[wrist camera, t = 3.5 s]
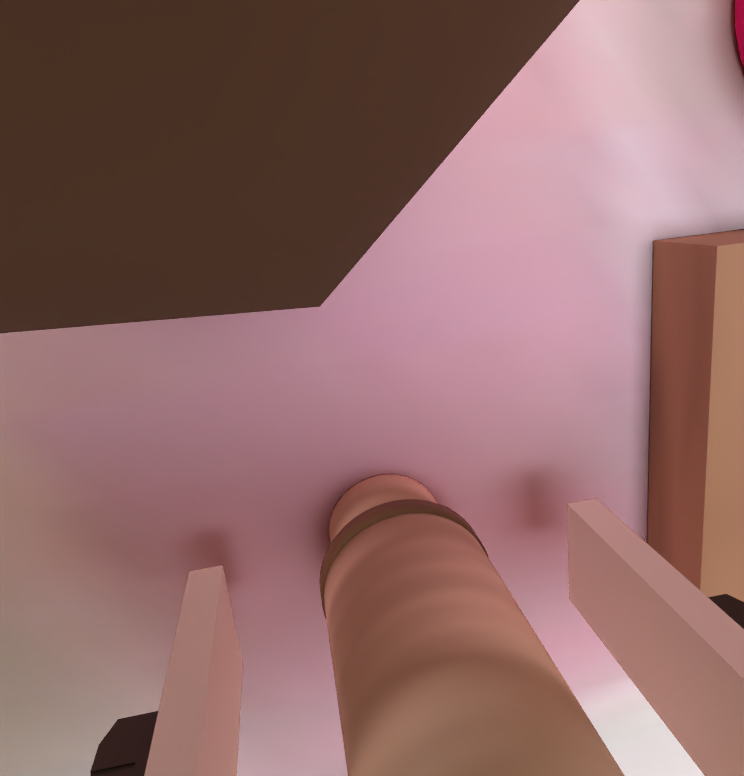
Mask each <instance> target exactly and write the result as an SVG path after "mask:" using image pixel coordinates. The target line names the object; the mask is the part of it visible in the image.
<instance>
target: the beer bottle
mask: <svg viewBox="0 0 744 776" xmlns="http://www.w3.org/2000/svg"><path fill="white" fill-rule="evenodd" d="M578 2H579V0H0V333H8V332H20V331H32V330H44V329H56V328H68V327H80V326H92V325H104V324H115V323H127V322H139V321H151V320H163V319H175V318H187V317H199V316H211V315H223V314H235V313H247V312H259V311H271V310H283V309H295V308H307V307H319V306H321V304H322V303H323V302H324V301H325V300H326V299H327V297H328V296H329V295H330V294H331V293H332V291H333V290H334V289H335V288H336V287H337V286H338V284H339V283H340V282H341V281H342V280H343V279H344V277H345V276H346V275H347V274H348V273H349V271H350V270H351V269H352V268H353V267H354V266H355V264H356V263H357V262H358V261H359V260H360V259H361V257H362V256H363V255H364V254H365V253H366V251H367V250H368V249H369V248H370V247H371V246H372V244H373V243H374V242H375V241H376V240H377V238H378V237H379V236H380V235H381V234H382V233H383V231H384V230H385V229H386V228H387V227H388V226H389V224H390V223H391V222H392V221H393V220H394V218H395V217H396V216H397V215H398V214H399V213H400V211H401V210H402V209H403V208H404V207H405V205H406V204H407V203H408V202H409V201H410V200H411V198H412V197H413V196H414V195H415V194H416V193H417V191H418V190H419V189H420V188H421V187H422V185H423V184H424V183H425V182H426V181H427V180H428V178H429V177H430V176H431V175H432V174H433V172H434V171H435V170H436V169H437V168H438V167H439V165H440V164H441V163H442V162H443V161H444V160H445V158H446V157H447V156H448V155H449V154H450V152H451V151H452V150H453V149H454V148H455V147H456V145H457V144H458V143H459V142H460V141H461V139H462V138H463V137H464V136H465V135H466V134H467V132H468V131H469V130H470V129H471V128H472V127H473V125H474V124H475V123H476V122H477V121H478V119H479V118H480V117H481V116H482V115H483V114H484V112H485V111H486V110H487V109H488V108H489V106H490V105H491V104H492V103H493V102H494V101H495V99H496V98H497V97H498V96H499V95H500V94H501V92H502V91H503V90H504V89H505V88H506V86H507V85H508V84H509V83H510V82H511V81H512V79H513V78H514V77H515V76H516V75H517V74H518V72H519V71H520V70H521V69H522V68H523V66H524V65H525V64H526V63H527V62H528V61H529V59H530V58H531V57H532V56H533V55H534V53H535V52H536V51H537V50H538V49H539V48H540V46H541V45H542V44H543V43H544V42H545V41H546V39H547V38H548V37H549V36H550V35H551V33H552V32H553V31H554V30H555V29H556V28H557V26H558V25H559V24H560V23H561V22H562V20H563V19H564V18H565V17H566V16H567V15H568V13H569V12H570V11H571V10H572V9H573V8H574V6H575V5H576V4H577V3H578Z"/></svg>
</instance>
